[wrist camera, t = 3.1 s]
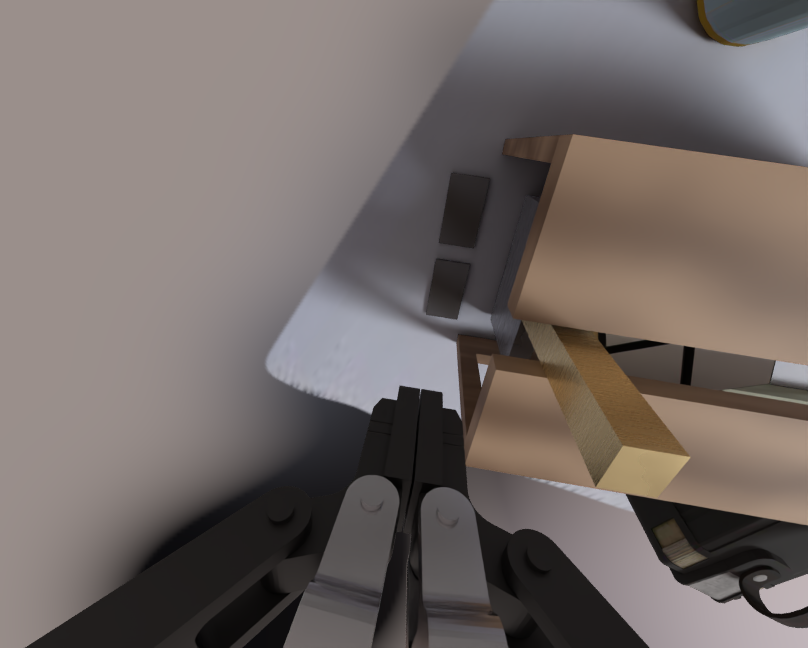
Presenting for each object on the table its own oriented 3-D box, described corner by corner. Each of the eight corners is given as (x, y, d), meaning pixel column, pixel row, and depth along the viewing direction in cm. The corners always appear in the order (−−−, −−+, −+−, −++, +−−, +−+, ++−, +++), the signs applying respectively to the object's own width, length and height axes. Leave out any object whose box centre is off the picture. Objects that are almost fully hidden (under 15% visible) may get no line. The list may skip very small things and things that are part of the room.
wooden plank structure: (458, 132, 24) (475, 120, 12) (1043, 215, 23) (1765, 302, 11) (422, 337, 33) (408, 456, 21) (844, 405, 32) (1107, 577, 19)
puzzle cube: (685, 201, 25) (814, 232, 16) (677, 315, 29) (775, 386, 21) (548, 236, 27) (597, 280, 19) (558, 337, 32) (602, 410, 23)
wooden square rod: (523, 194, 26) (709, 313, 8) (548, 198, 25) (798, 327, 8) (487, 318, 31) (549, 558, 13) (508, 321, 31) (599, 567, 13)
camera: (594, 461, 39) (670, 621, 26) (702, 386, 33) (876, 548, 20) (661, 498, 41) (763, 665, 28) (775, 433, 34) (979, 611, 21)
